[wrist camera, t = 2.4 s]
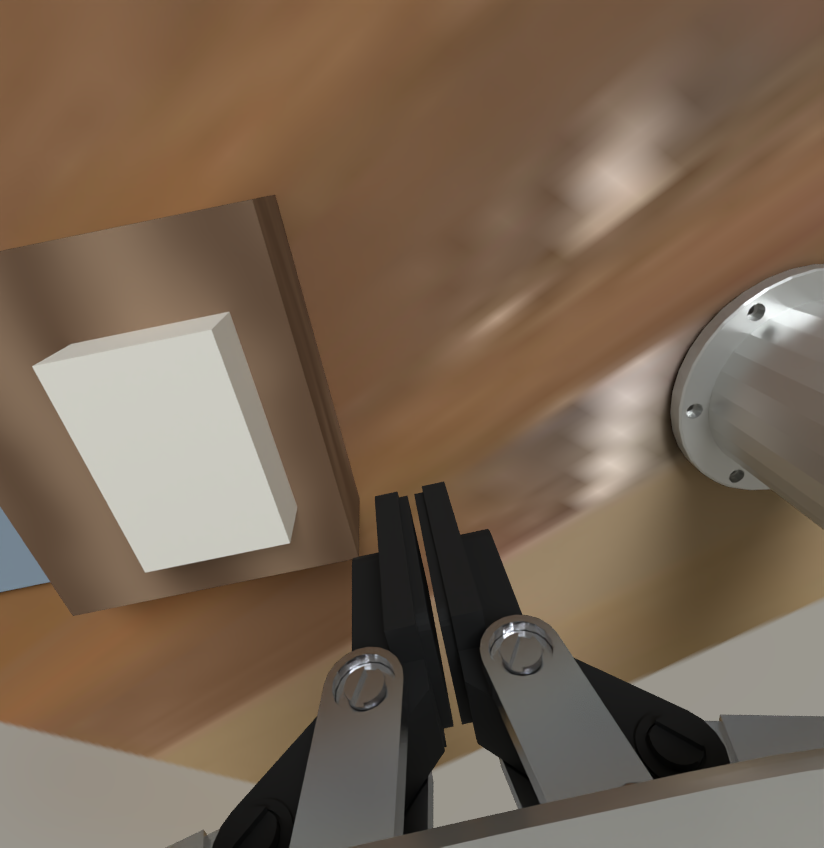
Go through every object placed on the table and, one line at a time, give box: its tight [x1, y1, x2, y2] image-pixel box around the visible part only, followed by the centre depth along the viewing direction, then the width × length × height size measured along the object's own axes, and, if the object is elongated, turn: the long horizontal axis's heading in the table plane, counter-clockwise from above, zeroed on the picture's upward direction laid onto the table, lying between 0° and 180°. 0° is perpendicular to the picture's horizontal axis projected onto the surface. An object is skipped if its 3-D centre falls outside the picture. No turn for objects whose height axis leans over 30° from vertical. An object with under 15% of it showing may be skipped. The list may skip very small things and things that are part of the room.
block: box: [32, 312, 297, 573], centre depth 20 cm, size 6×9×2 cm, turn 10°
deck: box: [0, 195, 359, 616], centre depth 23 cm, size 14×16×5 cm
